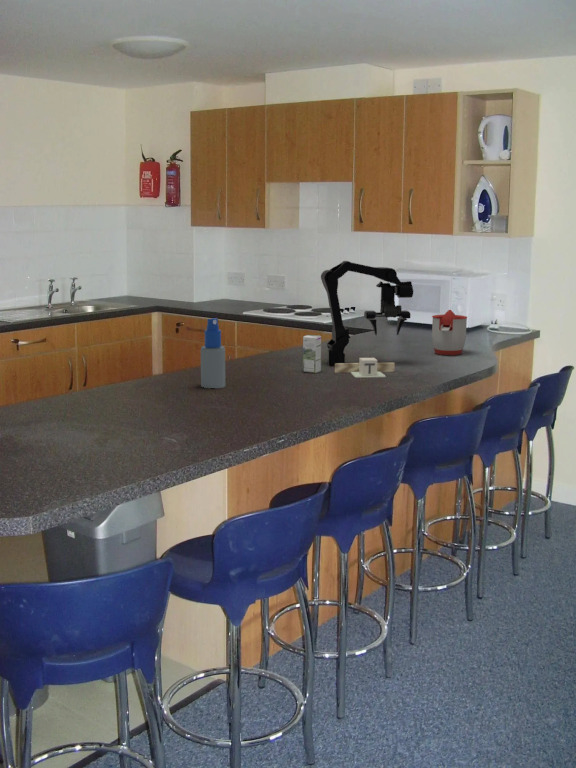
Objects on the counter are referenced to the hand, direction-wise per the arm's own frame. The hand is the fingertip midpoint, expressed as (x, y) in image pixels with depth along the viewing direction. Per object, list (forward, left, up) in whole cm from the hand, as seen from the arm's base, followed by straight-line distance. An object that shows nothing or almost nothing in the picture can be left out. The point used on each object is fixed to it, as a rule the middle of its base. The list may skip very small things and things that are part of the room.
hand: (386, 335), depth 369 cm
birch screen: (-13, -19, -12) cm, 26 cm away
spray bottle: (-74, -43, -12) cm, 86 cm away
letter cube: (-13, -26, -12) cm, 32 cm away
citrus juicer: (+33, +21, -12) cm, 41 cm away
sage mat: (-13, -26, -12) cm, 32 cm away
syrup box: (-34, -17, -12) cm, 40 cm away
